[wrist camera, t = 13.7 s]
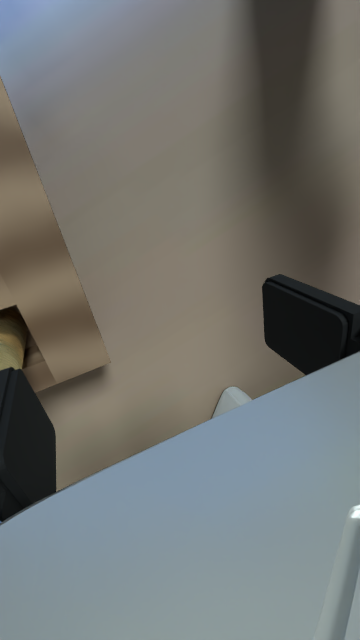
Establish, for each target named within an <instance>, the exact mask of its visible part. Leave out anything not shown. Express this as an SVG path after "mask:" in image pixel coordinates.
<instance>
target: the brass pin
mask: <svg viewBox="0 0 360 640" xmlns="http://www.w3.org/2000/svg"><path fill="white" fill-rule="evenodd" d="M27 330H28V326H27V324H26V322H25V320H24V318H23V317H22V315H21V314H20V313H19V312H17V311H16V310H13V309H10V308H4V309H1V310H0V370H3V369H6V368H9V367H13V368H14V369H15V370H17V369H19V368H20V369H21V370H22V364H23V358H24V351H25V344H26V337H27Z"/></svg>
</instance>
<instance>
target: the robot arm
mask: <svg viewBox="0 0 360 640" xmlns="http://www.w3.org/2000/svg"><path fill="white" fill-rule="evenodd" d="M262 293H263V314H264V335H265V342H266V344H267V346H268V347H269V348H271V349H272V350H273V351H275V352H276V353H277V354H279V355H280V356H281V357H283V358H284V359H285V360H287V361H288V362H289V363H291V364H292V365H293V366H295V367H296V368H297V369H299V370H300V371H301V372H303V373H304V374H305V375H306V376H304V377H302V378H299V379H297V380H295V381H293V382H291V383H289V384H286V385H284V386H282V387H280V388H278V389H276V390H273V391H271V392H269V393H267V394H265V395H262V396H260V397H258V398H256V399H254V400H252V401H249V402H247V403H245V404H243V405H241V406H239V407H236V408H234V409H232V410H230V411H228V412H225V413H223V414H221V415H219V416H217V417H215V418H212V419H210V420H208V421H206V422H204V423H202V424H199V425H197V426H195V427H193V428H191V429H188V430H186V431H184V432H182V433H180V434H178V435H175V436H173V437H171V438H169V439H167V440H165V441H162V442H160V443H158V444H156V445H154V446H152V447H150V448H147V449H145V450H143V451H141V452H139V453H137V454H135V455H132V456H130V457H128V458H126V459H124V460H122V461H120V462H117V463H115V464H113V465H111V466H109V467H107V468H105V469H102V470H100V471H98V472H96V473H94V474H92V475H89V476H87V477H85V478H83V479H81V480H79V481H77V482H75V483H73V484H71V485H69V486H67V487H65V488H63V489H61V490H59V491H57V492H56V436H55V430H54V427H53V425H52V423H51V421H50V419H49V417H48V416H47V414H46V412H45V410H44V408H43V407H42V405H41V403H40V401H39V399H38V398H37V396H36V394H35V392H34V391H33V389H32V387H31V385H30V383H29V382H28V380H27V378H26V376H25V374H24V373H23V371H22V370H21V369H20V368H19V369H17V370H15V369H14V368H13V367H9V368H6V369H3V370H0V640H360V305H357V304H355V303H352V302H350V301H347V300H344V299H342V298H339V297H337V296H334V295H332V294H329V293H327V292H324V291H322V290H319V289H317V288H314V287H312V286H309V285H307V284H304V283H302V282H299V281H297V280H294V279H292V278H289V277H286V276H284V275H281V274H279V275H276V276H273V277H270V278H267V279H266V280H265V283H264V284H263V286H262Z"/></svg>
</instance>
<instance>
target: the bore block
mask: <svg viewBox="0 0 360 640" xmlns="http://www.w3.org/2000/svg"><path fill="white" fill-rule="evenodd" d="M4 308H10V309H13V310H16V311H17V312H19V313H20V314H21V315H22V317H23V318H24V320H25V322H26V324H27V326H28V330H27V337H26V344H25V351H24V358H23V364H22V371H23V373H24V374H25V376H26V378H27V380H28V382H29V383H30V385H31V387H32V389H33V391H34V392H35V393H36V392H39V391H41V390H44V389H46V388H49V387H51V386H54V385H56V384H59V383H61V382H64V381H66V380H69V379H71V378H74V377H76V376H79V375H81V374H84V373H86V372H89V371H91V370H94V369H96V368H99V367H101V366H104V365H106V364H109V363H111V361H110V358H109V355H108V353H107V350H106V348H105V345H104V342H103V340H102V337H101V335H100V332H99V329H98V327H97V324H96V322H95V319H94V316H93V314H92V311H91V309H90V306H89V304H88V301H87V298H86V296H85V293H84V291H83V288H82V285H81V283H80V280H79V278H78V275H77V273H76V270H75V267H74V265H73V262H72V260H71V257H70V255H69V252H68V249H67V247H66V244H65V242H64V239H63V236H62V234H61V231H60V229H59V226H58V224H57V221H56V218H55V216H54V213H53V211H52V208H51V206H50V203H49V200H48V198H47V195H46V193H45V190H44V187H43V185H42V182H41V180H40V177H39V175H38V172H37V169H36V167H35V164H34V162H33V159H32V156H31V154H30V151H29V149H28V146H27V144H26V141H25V138H24V136H23V133H22V131H21V128H20V126H19V123H18V120H17V118H16V115H15V113H14V110H13V107H12V105H11V102H10V100H9V97H8V95H7V92H6V89H5V87H4V84H3V82H2V79H1V77H0V310H1V309H4Z"/></svg>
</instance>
